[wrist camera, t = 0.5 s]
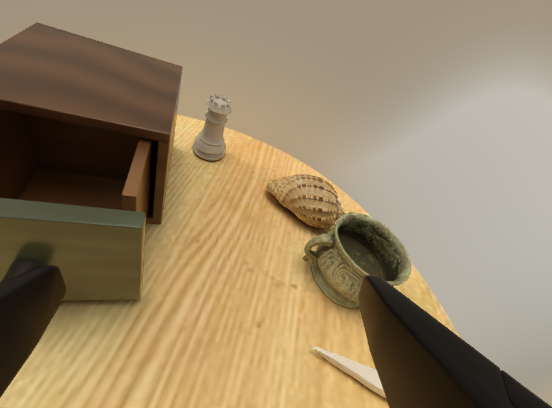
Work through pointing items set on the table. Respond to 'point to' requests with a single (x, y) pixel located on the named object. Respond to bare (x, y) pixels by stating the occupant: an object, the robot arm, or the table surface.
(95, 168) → the drawer
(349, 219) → the vessel
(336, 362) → the pale tapered spike
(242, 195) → the table surface
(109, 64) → the cabinet
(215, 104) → the rook chess piece
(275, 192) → the seashell
